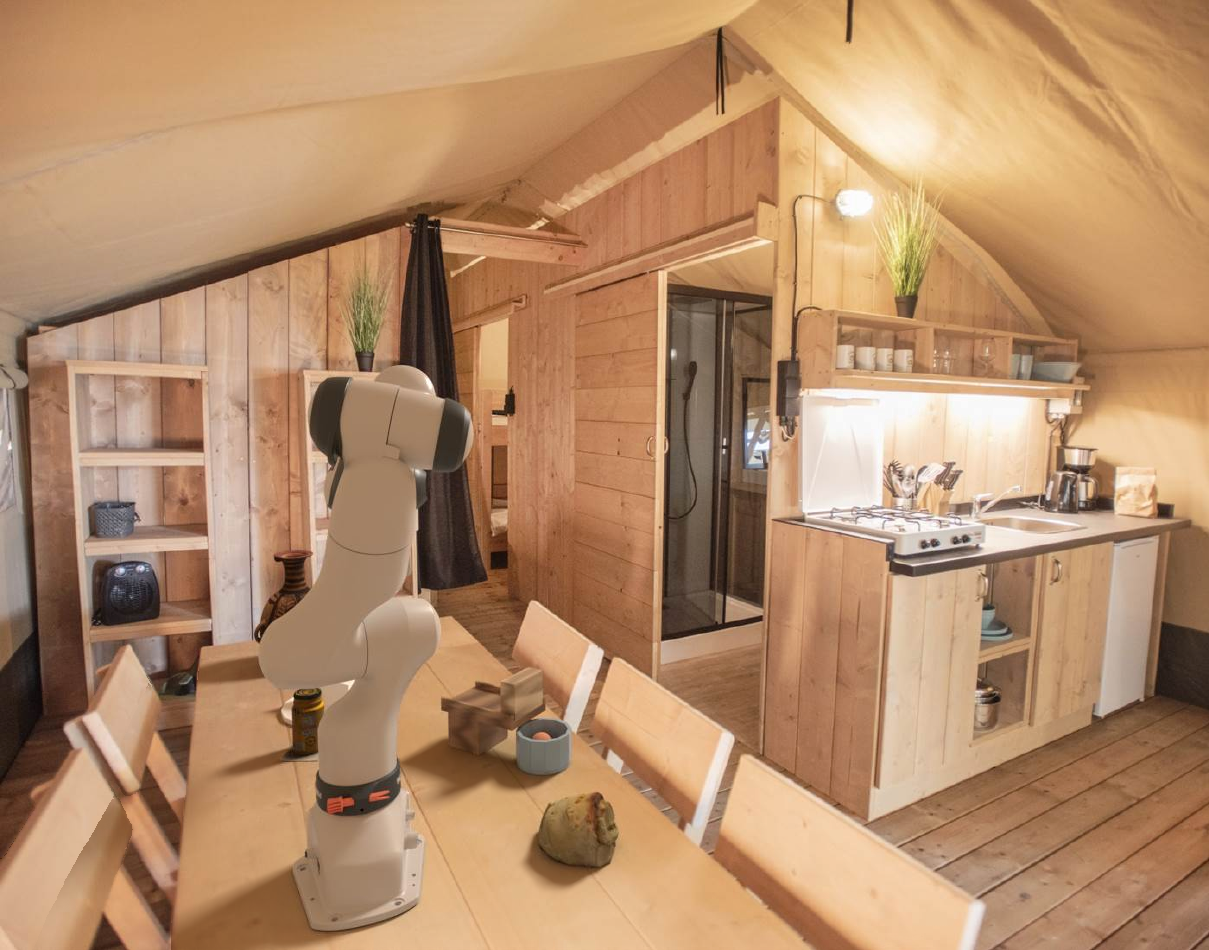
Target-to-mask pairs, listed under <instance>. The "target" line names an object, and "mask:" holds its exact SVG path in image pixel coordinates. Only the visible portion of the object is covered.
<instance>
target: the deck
mask: <svg viewBox="0 0 1209 950" xmlns="http://www.w3.org/2000/svg"><path fill="white" fill-rule="evenodd" d="M440 707H441V708H440V710H441V711H442V712H446V713H447V723H448V726H447V727H448V729H447V730H448V734H447V735H448V747H451V748H454V749H458V750H461V751H463V752H467V753H470V754H474V755H477V756H480V755H482V754H484V753H485V752H487V751H488V750H490V749H492V748H493V747H495V746H497V745H498V744H500V743H501V742H500V741H502V742H504V741H505V740H506V739H508V738H509V735H508V734H509V733H508V731H511V732H512V731H514V730H515V729H516V730H517V728H518V727H519V726H521V725H523V724H524V723H526V722H527V721H529V720H532V719H535V718H536V717H538V716H539V715H540V714H542V713H544V712H545V711H546V697H545V696H543V704H542V705H541V706H539V707H537V708H536V709H534V710H532V711H531V712H529V713H527V714H525V715H524V716H522V717H520V718H519V719H517V720H514V716H513V715H509V714H505V713H502V712H501V695H500V685H498V684H493V683H489V682H485V681H482V680H474V686H473V687H471V688H470V689H467V690H465V691H463V692H461V693H459V694H457V695H455V696H452V697H451V698H450V697H446V696H441V697H440ZM507 737H508V738H507ZM504 739H505V740H504ZM499 742H500V743H499ZM496 744H497V745H496Z"/></svg>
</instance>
